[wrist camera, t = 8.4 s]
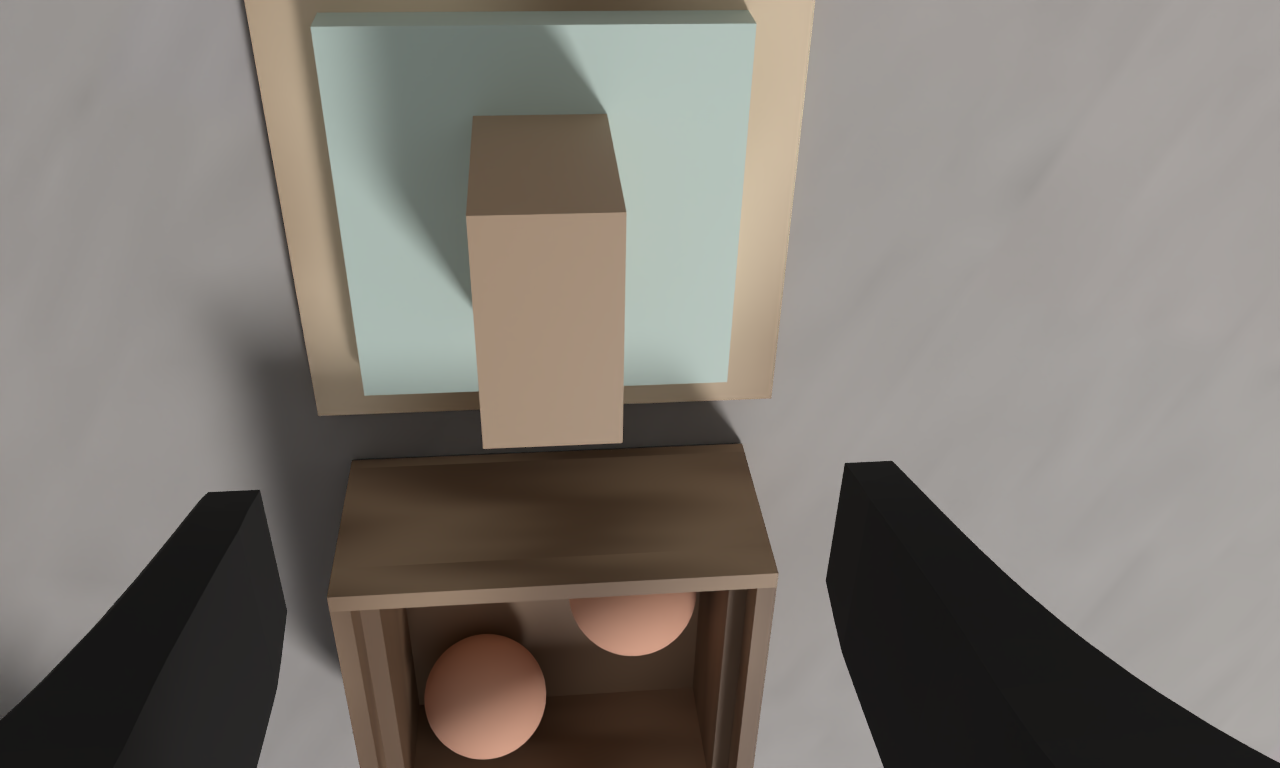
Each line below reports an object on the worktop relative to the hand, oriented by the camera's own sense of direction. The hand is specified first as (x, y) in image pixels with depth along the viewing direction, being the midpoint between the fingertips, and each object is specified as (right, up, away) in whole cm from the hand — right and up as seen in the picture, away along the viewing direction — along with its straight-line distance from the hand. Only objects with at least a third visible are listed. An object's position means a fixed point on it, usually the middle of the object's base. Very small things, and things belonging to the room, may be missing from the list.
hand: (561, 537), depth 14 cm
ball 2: (+1, -2, +13) cm, 13 cm away
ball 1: (-3, -5, +15) cm, 16 cm away
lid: (-1, +5, +8) cm, 10 cm away
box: (-1, -3, +14) cm, 15 cm away
